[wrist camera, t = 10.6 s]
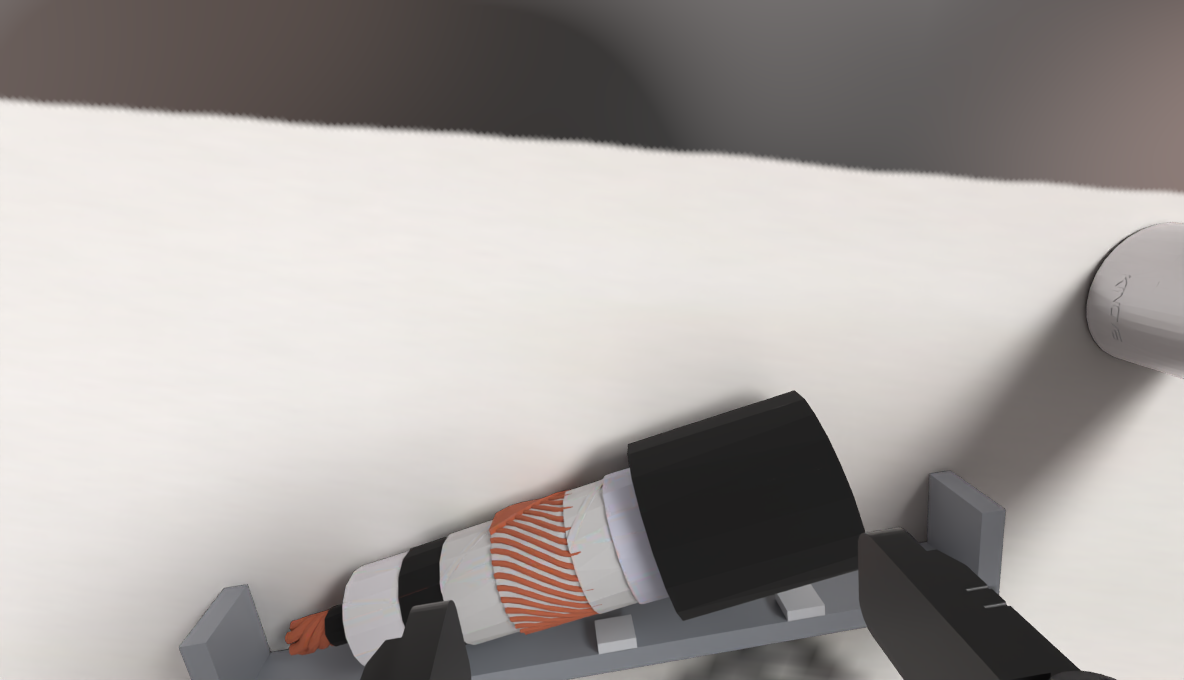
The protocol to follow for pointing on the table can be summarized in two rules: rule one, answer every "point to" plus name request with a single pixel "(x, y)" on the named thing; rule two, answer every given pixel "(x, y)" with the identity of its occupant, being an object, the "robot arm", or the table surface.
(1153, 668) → the table surface
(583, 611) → the cable
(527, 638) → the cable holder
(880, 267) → the table surface
